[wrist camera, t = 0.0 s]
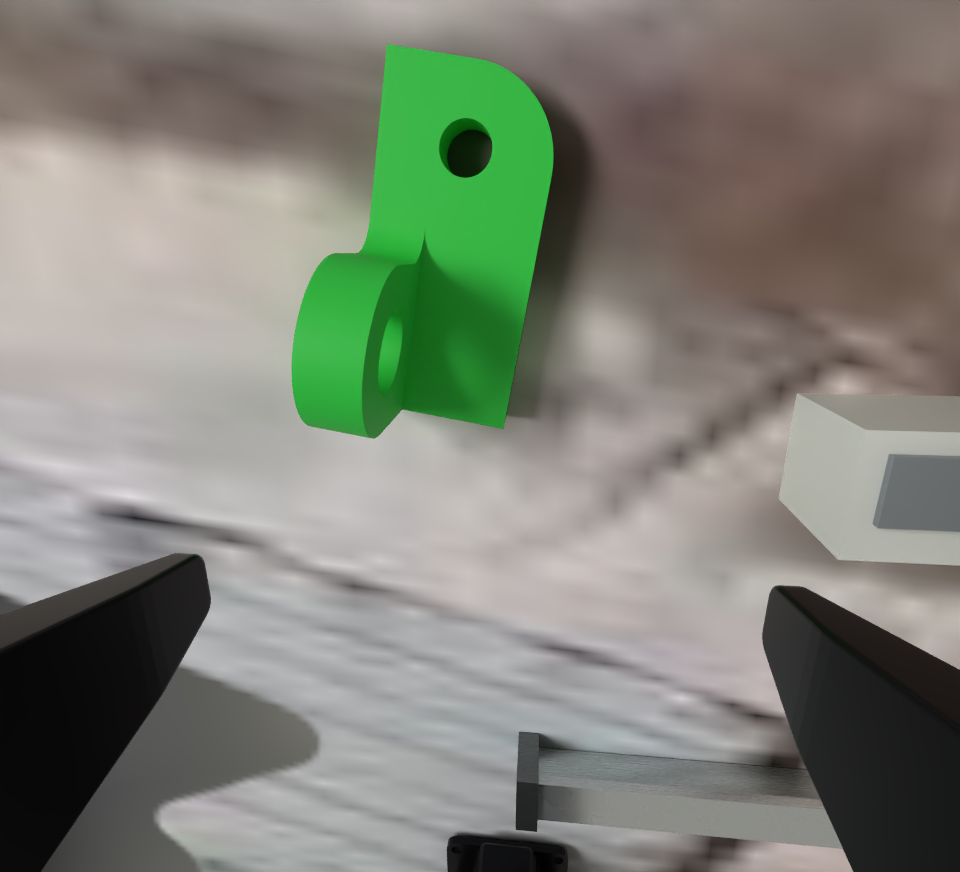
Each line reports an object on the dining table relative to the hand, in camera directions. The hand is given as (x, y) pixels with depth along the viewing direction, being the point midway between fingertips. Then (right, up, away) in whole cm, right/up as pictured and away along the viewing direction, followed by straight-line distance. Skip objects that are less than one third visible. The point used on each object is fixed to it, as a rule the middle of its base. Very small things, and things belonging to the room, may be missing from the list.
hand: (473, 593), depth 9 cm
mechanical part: (-1, +10, +13) cm, 16 cm away
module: (+16, +2, +13) cm, 21 cm away
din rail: (+11, -14, +19) cm, 26 cm away
